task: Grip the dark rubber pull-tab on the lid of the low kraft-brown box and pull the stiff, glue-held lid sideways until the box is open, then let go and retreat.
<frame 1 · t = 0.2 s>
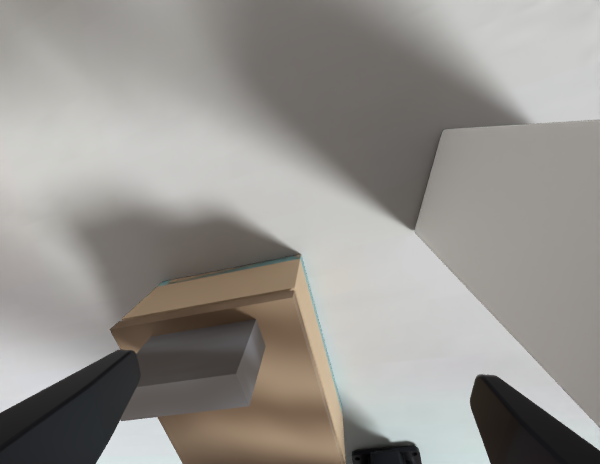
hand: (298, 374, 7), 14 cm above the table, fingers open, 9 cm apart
milk carton: (477, 190, 19), on the table
lid: (230, 435, 17), point 8 cm above the table, slide at 0.0 cm
box: (257, 348, 25), on the table
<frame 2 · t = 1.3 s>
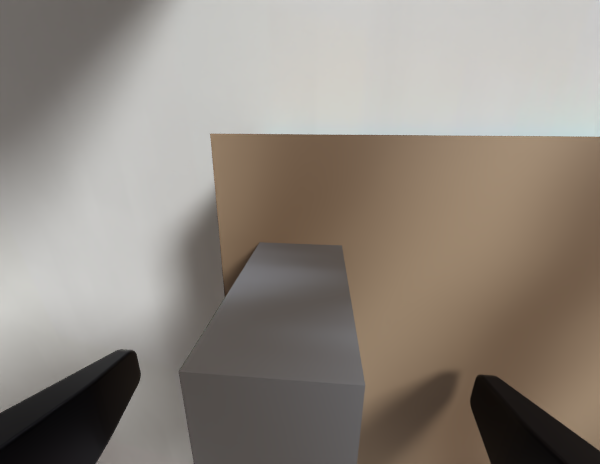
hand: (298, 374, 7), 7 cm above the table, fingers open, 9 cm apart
lid: (575, 436, 6), point 8 cm above the table, slide at 0.0 cm
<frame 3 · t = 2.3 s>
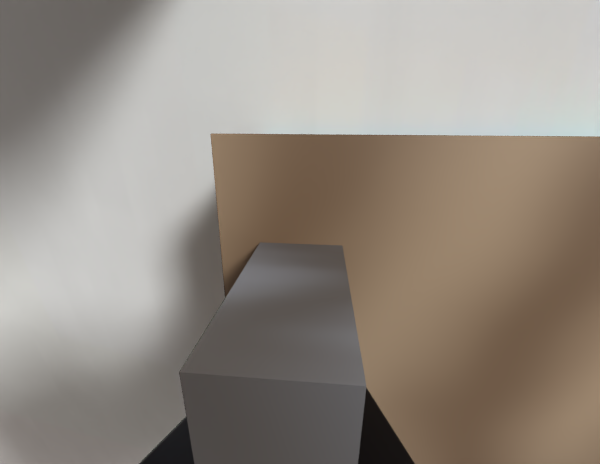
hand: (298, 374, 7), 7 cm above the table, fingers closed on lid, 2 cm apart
lid: (576, 436, 6), point 8 cm above the table, slide at 0.0 cm, touching gripper
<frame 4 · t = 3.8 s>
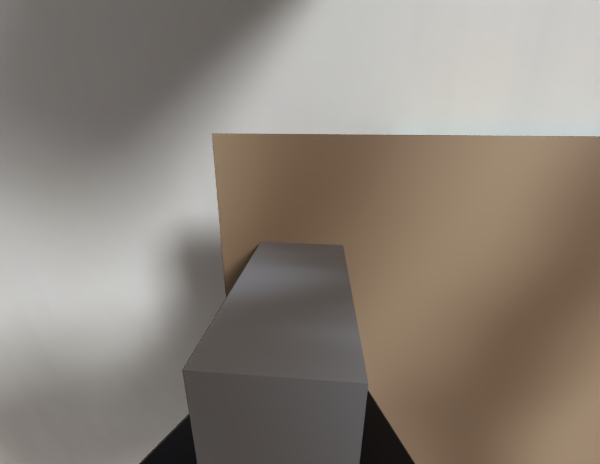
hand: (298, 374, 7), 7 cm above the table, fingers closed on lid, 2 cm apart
lid: (575, 434, 6), point 8 cm above the table, slide at 5.4 cm, touching gripper
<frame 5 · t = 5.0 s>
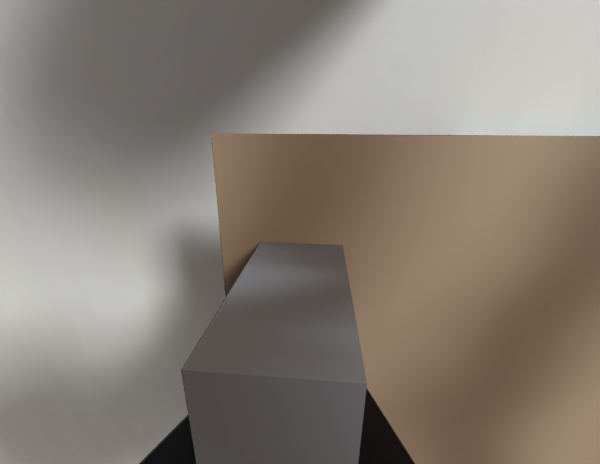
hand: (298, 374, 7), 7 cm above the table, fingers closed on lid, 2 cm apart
lid: (575, 434, 6), point 8 cm above the table, slide at 7.9 cm, touching gripper
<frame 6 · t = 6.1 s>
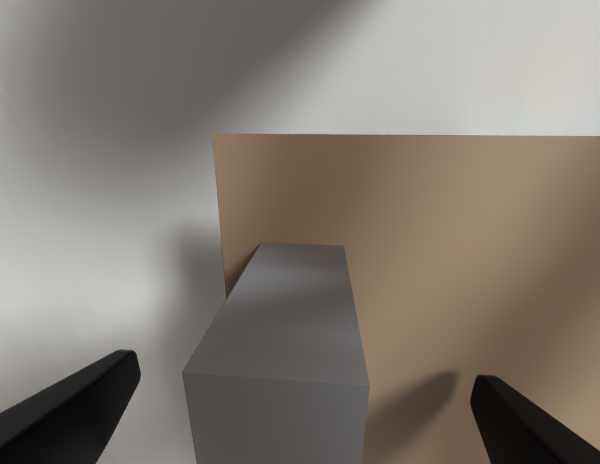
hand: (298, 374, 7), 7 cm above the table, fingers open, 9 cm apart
lid: (578, 436, 6), point 8 cm above the table, slide at 7.9 cm
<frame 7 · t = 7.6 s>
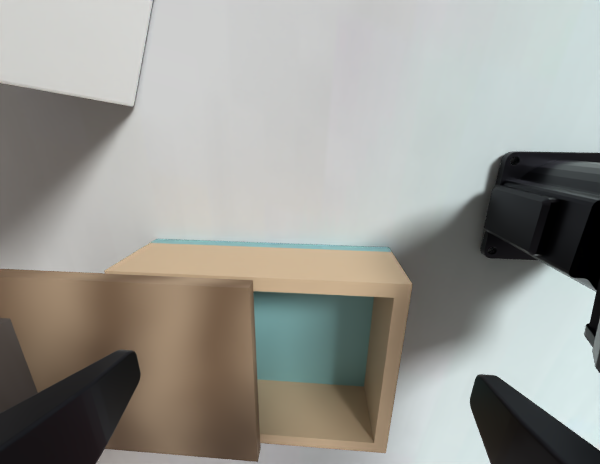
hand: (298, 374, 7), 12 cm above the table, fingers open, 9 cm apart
milk carton: (90, 19, 16), on the table
lid: (90, 401, 14), point 8 cm above the table, slide at 7.9 cm
box: (271, 317, 21), on the table
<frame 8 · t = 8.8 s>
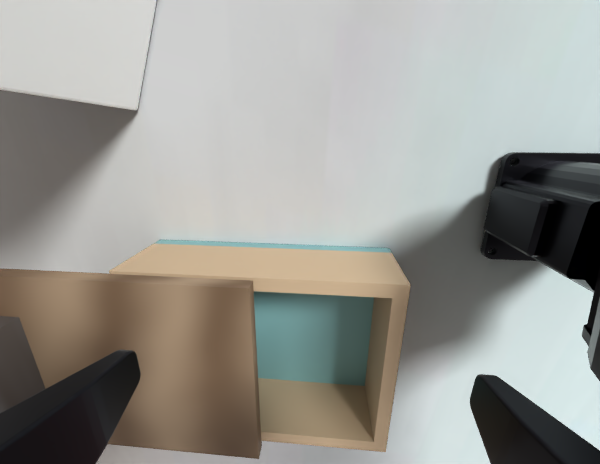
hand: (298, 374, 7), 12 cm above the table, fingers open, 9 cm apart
milk carton: (95, 26, 16), on the table
lid: (96, 398, 14), point 8 cm above the table, slide at 7.9 cm
box: (272, 317, 21), on the table
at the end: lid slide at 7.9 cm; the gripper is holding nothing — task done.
